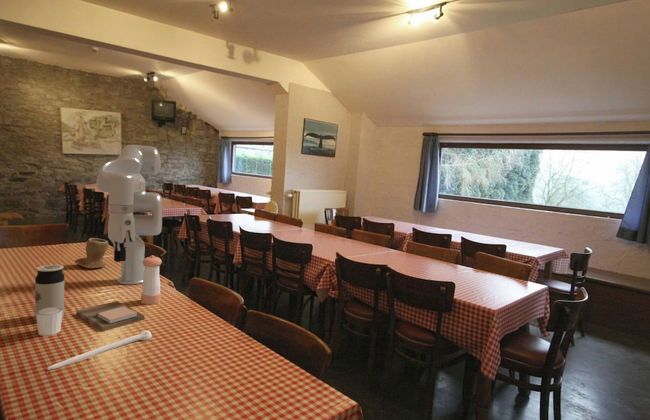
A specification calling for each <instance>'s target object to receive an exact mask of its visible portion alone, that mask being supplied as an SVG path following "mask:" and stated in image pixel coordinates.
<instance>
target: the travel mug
mask: <svg viewBox="0 0 650 420" xmlns="http://www.w3.org/2000/svg"><path fill="white" fill-rule="evenodd" d="M63 269H64V265H61V264H46V265H41V266H38V267H36V271H37V275H36V276H35V278H34V280H35V283H34V284H35V286H34V289H35V290H34V291H35V292H34V293H35V294H34V297H35V299H34V300H35V301H34V305H35V307H34V309H35V310H34V312H35V313H34V314H35V316H34V318H35V319H34V320H35V321H37V316H36V312H37V311H39V310H41V309H45V308H51V307H59V308H62V309H63V313H62V318H63V317H64V316H65V274H64V273H63Z"/></svg>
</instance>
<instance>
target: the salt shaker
mask: <svg viewBox="0 0 650 420" xmlns="http://www.w3.org/2000/svg"><path fill="white" fill-rule="evenodd" d="M162 263H163V261H162V258H160V257H158V256H155V255H150V256H148V257H144V260H143V265H144V280H143V283H142V290H141V291H142V292H141V293H140V303H141V304H142V305H155V304H159V303H160V302H161V300H162V296H161V295H162V292H161V279H160V266H161V264H162Z"/></svg>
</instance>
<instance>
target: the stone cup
mask: <svg viewBox="0 0 650 420" xmlns="http://www.w3.org/2000/svg"><path fill="white" fill-rule="evenodd" d="M108 247H109V241H108V240H106V239H102V238H98V237H90V238H88V239H87V240H86V244H85V252H86V257H81V258H78V259H75V260H74V263H75V264H77V265H79V266H81V267H84V268H87V269H100V268H103V267H105V266H106V264H105V263H104V262H103V259H104V256H105V254H106V252H107V250H108Z"/></svg>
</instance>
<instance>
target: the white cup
mask: <svg viewBox="0 0 650 420" xmlns="http://www.w3.org/2000/svg"><path fill="white" fill-rule="evenodd" d="M62 313H63V309H62V308H59V307H51V308H45V309H41V310H39V311H37V312H36V316H37V320H36V325H37V333H38V335H39V336H42V337H44V336H46V337H47V336H53V335H56V334H59V333H60V332H61V328H62V321H63V317H62Z"/></svg>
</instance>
